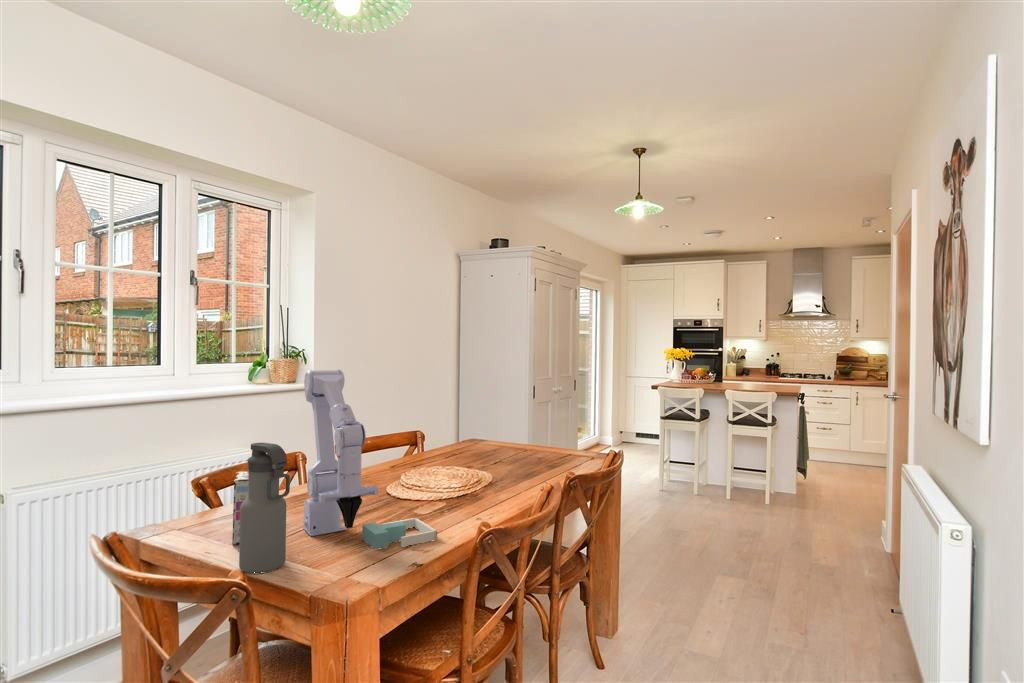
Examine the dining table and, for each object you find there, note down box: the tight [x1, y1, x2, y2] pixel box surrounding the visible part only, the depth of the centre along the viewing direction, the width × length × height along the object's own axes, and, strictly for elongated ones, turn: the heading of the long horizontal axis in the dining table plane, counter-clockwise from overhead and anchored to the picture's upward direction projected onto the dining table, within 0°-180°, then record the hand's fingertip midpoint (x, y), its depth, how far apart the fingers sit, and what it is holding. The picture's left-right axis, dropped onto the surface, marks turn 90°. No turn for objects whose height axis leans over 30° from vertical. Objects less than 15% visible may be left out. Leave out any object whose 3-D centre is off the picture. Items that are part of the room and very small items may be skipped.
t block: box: [361, 520, 407, 550], centre depth 148 cm, size 10×9×4 cm
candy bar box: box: [231, 470, 248, 546], centre depth 149 cm, size 11×5×16 cm, turn 21°
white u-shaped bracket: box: [383, 517, 438, 548], centre depth 152 cm, size 10×13×2 cm
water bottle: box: [238, 442, 291, 574], centre depth 131 cm, size 10×10×28 cm
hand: (348, 527), depth 142 cm, fingers closed
